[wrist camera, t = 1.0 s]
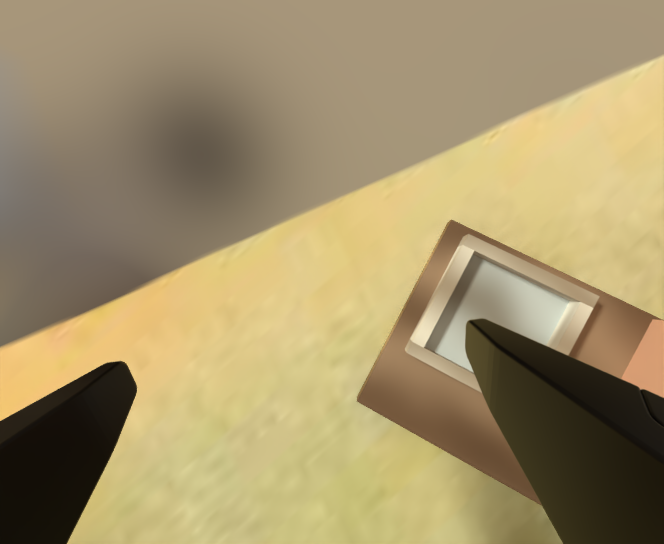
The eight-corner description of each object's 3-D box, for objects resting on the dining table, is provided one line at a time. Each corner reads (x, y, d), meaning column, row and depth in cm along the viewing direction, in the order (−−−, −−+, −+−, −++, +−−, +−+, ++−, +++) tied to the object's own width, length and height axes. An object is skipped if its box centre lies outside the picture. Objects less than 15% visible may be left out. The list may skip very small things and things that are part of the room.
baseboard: (647, 559, 21) (680, 591, 19) (357, 396, 23) (356, 407, 21) (751, 367, 21) (796, 376, 19) (447, 222, 23) (456, 215, 21)
